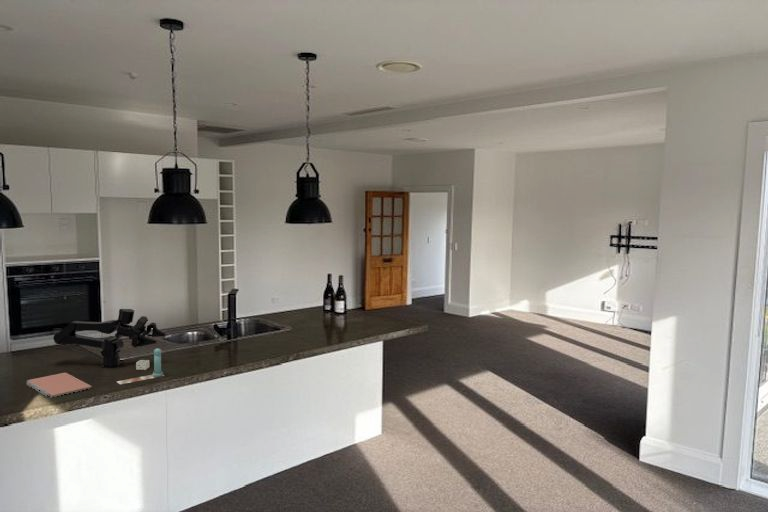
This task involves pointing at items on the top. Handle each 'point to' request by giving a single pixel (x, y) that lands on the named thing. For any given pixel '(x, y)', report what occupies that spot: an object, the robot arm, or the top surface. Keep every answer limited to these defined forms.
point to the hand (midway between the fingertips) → (160, 338)
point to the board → (136, 379)
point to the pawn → (157, 363)
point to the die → (142, 364)
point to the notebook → (58, 384)
